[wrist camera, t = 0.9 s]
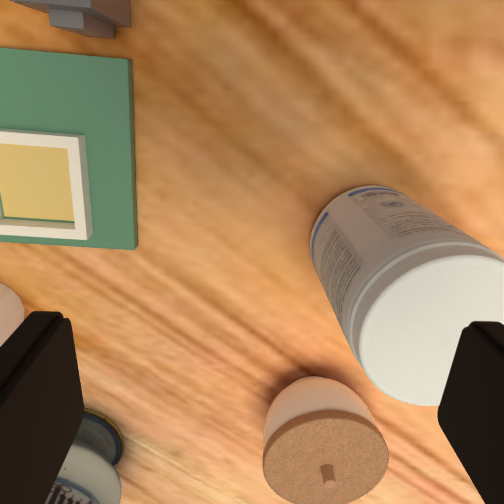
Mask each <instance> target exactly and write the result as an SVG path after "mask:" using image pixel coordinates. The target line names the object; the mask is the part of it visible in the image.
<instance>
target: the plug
mask: <svg viewBox="0 0 504 504" xmlns="http://www.w3.org/2000/svg"><path fill="white" fill-rule="evenodd" d="M10 1H13V2H15V3H18V4H21V5H24V6H27V7H30V8H33V9H35V10H38V11H41V12H44V13H47V14H49V19H50V26H53V27H57V28H60V29H63V30H67V31H70V32H74V33H77V34H81V35H84V36H88V37H97V38H107V39H115V30H114V26H120V27H130V28H131V20H130V0H10Z"/></svg>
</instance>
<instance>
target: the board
mask: <svg viewBox="0 0 504 504" xmlns="http://www.w3.org/2000/svg"><path fill="white" fill-rule="evenodd" d="M0 242H13V243H29V244H45V245H61V246H77V247H93V248H109V249H125V250H135V248H136V247H137V245H138V233H137V203H136V173H135V142H134V112H133V82H132V60H129V59H120V58H109V57H98V56H87V55H76V54H65V53H54V52H43V51H32V50H21V49H10V48H0Z"/></svg>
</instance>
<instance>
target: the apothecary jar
mask: <svg viewBox="0 0 504 504" xmlns="http://www.w3.org/2000/svg"><path fill="white" fill-rule="evenodd" d="M123 451H124V440H123V437H122V434H121V432H120V430H119V429H118V427H117V426H116V425H115V424H114V423H113V422H112V421H111V420H110V419H108V418H107V417H106V416H104V415H102V414H100V413H98V412H96V411H93V410H90V409H86V408H84V416H83V420H82V423H81V426H80V428H79V430H78V432H77V434H76V437H75V439H74V441H73V443H72V445H71V447H70V450H69V452H68V454H67V456H66V458H65V461H64V463H63V465H62V467H61V469H60V472H59V474H58V476H57V478H56V480H55V482H54V485H53V487H52V489H51V491H50V493H49V496H48V498H47V500H46V502H45V504H120V500H121V482H120V479H119V476H118V474H117V471H116V470H115V468H114V466H113V465H115V464H117V463H118V462H119V460H120V458H121V457H122V454H123Z"/></svg>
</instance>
